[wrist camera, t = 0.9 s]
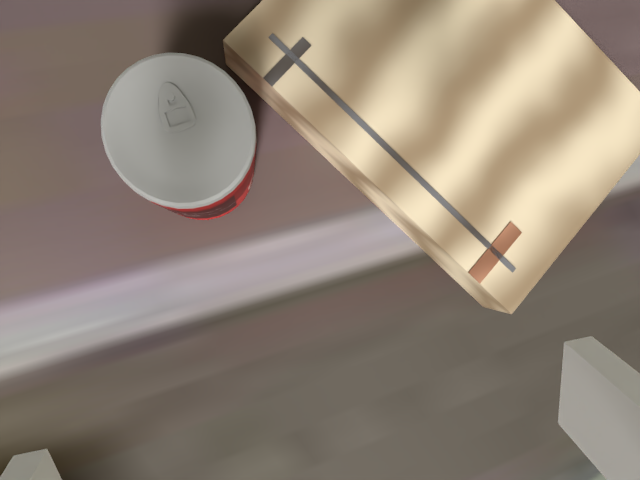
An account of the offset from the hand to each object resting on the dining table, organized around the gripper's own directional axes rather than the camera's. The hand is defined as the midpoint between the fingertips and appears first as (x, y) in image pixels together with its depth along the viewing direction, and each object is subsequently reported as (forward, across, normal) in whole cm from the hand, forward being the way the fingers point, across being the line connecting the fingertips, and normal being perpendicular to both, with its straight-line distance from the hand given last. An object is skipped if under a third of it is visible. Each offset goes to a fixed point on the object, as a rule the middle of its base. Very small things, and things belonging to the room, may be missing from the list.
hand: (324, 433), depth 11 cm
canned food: (+25, -5, +3) cm, 26 cm away
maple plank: (+27, +14, +5) cm, 31 cm away
